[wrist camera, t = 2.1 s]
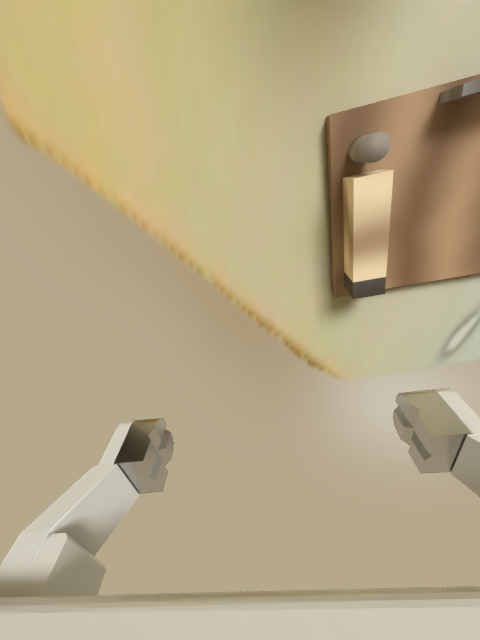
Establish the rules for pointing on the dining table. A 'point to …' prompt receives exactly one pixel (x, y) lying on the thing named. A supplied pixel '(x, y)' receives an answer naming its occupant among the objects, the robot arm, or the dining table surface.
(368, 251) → the leg bar
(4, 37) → the dining table surface
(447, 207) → the board
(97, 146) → the dining table surface
